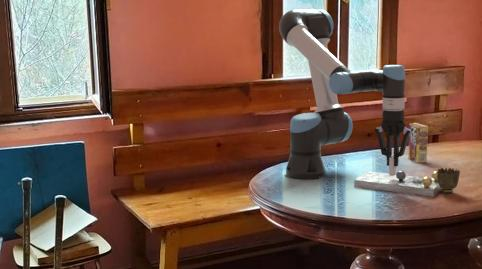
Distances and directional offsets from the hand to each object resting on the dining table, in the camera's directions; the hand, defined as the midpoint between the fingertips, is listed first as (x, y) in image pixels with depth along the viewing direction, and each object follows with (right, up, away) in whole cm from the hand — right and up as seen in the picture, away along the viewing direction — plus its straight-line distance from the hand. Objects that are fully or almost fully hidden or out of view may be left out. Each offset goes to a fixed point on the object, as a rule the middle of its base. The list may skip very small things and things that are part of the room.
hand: (392, 174), depth 223 cm
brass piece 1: (+9, -2, -10) cm, 14 cm away
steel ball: (+3, 0, -1) cm, 3 cm away
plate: (+2, -4, 0) cm, 5 cm away
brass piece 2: (+15, 0, -3) cm, 15 cm away
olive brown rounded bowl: (+17, -6, -9) cm, 20 cm away
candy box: (+20, +3, +39) cm, 44 cm away
